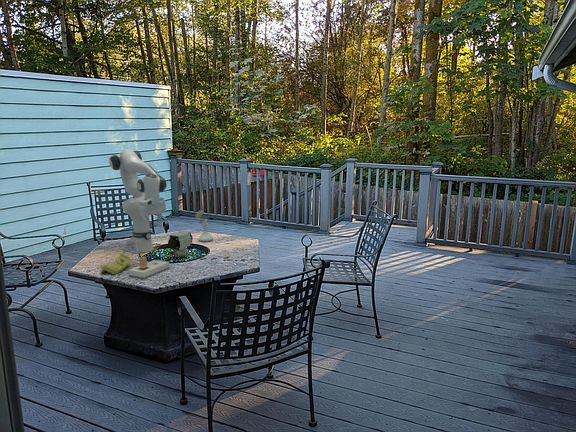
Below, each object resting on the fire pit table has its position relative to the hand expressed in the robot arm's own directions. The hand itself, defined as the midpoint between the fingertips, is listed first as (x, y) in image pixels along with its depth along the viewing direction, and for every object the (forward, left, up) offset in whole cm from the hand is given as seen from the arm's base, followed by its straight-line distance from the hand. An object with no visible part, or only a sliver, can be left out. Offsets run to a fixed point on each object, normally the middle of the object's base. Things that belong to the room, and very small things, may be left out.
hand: (153, 221), depth 275 cm
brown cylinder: (+7, -19, -28) cm, 34 cm away
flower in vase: (-8, +61, -29) cm, 68 cm away
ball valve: (+3, +21, -29) cm, 36 cm away
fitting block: (+7, -14, -29) cm, 33 cm away
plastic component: (-15, -19, -29) cm, 38 cm away
